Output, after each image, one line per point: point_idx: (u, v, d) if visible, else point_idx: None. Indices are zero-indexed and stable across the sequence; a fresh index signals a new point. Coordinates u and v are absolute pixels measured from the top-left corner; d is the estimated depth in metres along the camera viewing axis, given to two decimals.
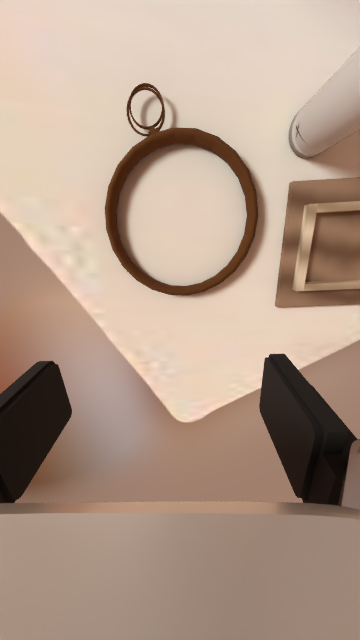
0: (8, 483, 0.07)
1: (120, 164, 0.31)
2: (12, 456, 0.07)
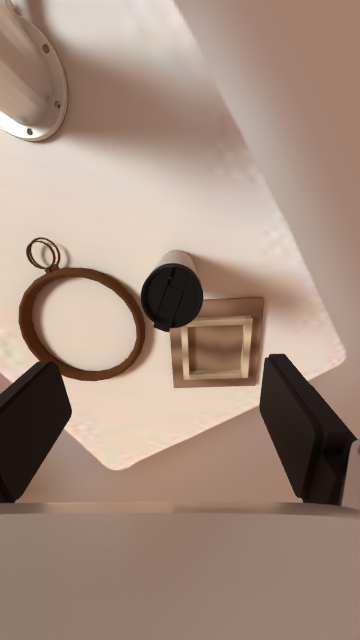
0: (8, 483, 0.07)
1: (25, 293, 0.39)
2: (12, 456, 0.07)
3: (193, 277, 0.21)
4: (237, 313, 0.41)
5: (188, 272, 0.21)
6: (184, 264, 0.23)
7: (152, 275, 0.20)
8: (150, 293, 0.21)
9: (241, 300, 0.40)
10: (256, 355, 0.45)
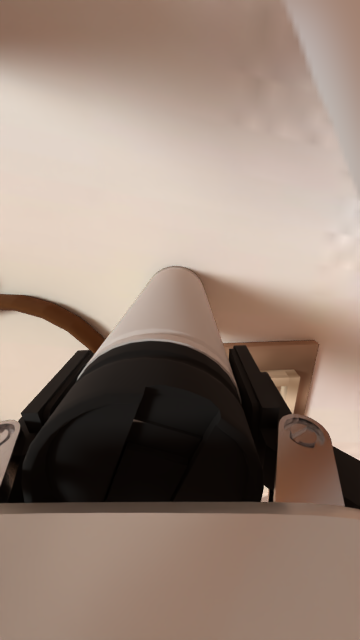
0: None
1: None
2: None
3: (229, 428, 0.05)
4: (273, 366, 0.25)
5: (208, 404, 0.05)
6: (190, 341, 0.07)
7: (58, 423, 0.05)
8: (62, 469, 0.06)
9: (281, 347, 0.24)
10: None
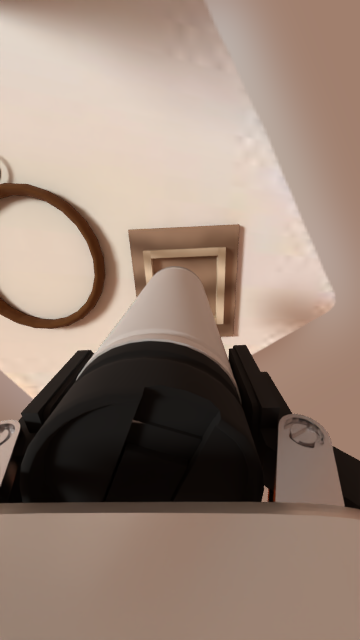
0: None
1: None
2: None
3: (229, 429, 0.05)
4: (209, 244, 0.36)
5: (208, 405, 0.05)
6: (190, 341, 0.07)
7: (56, 424, 0.05)
8: (60, 471, 0.06)
9: (213, 227, 0.35)
10: (233, 298, 0.39)
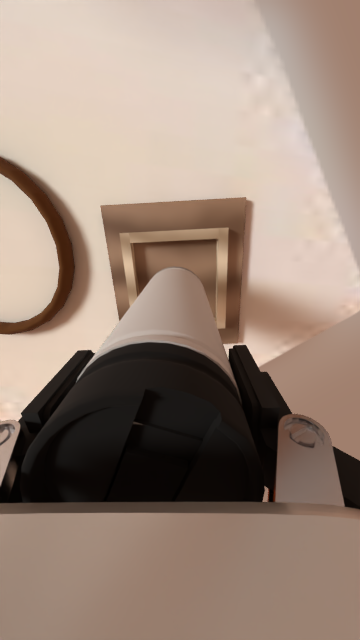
0: None
1: None
2: None
3: (230, 431, 0.05)
4: (206, 224, 0.27)
5: (209, 407, 0.05)
6: (191, 342, 0.07)
7: (57, 426, 0.05)
8: (61, 472, 0.06)
9: (211, 201, 0.26)
10: (238, 295, 0.31)
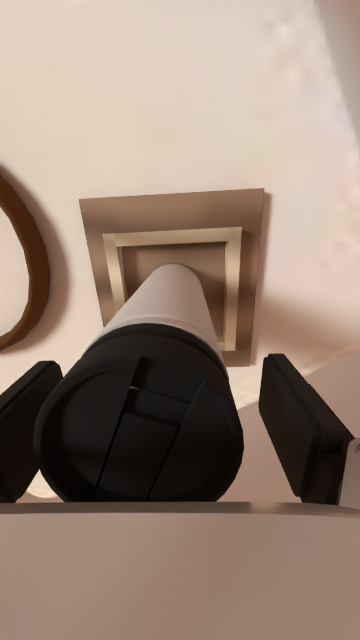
0: (10, 482, 0.07)
1: None
2: (14, 455, 0.07)
3: (212, 392, 0.06)
4: (213, 222, 0.22)
5: (195, 372, 0.06)
6: (182, 324, 0.08)
7: (66, 387, 0.06)
8: (68, 431, 0.06)
9: (219, 193, 0.21)
10: (251, 310, 0.25)
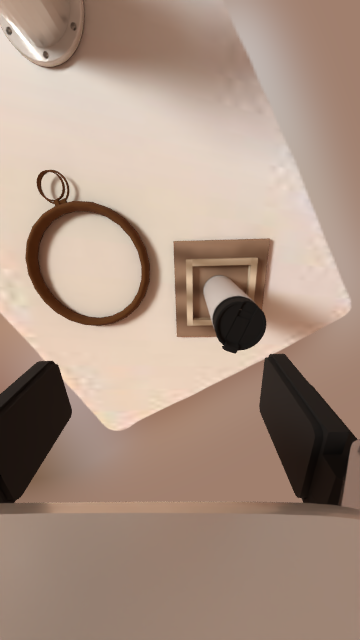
0: (8, 483, 0.07)
1: (33, 226, 0.39)
2: (12, 456, 0.07)
3: (259, 310, 0.25)
4: (242, 254, 0.41)
5: (255, 305, 0.25)
6: (247, 297, 0.27)
7: (226, 307, 0.25)
8: (222, 321, 0.26)
9: (247, 240, 0.40)
10: (261, 302, 0.44)
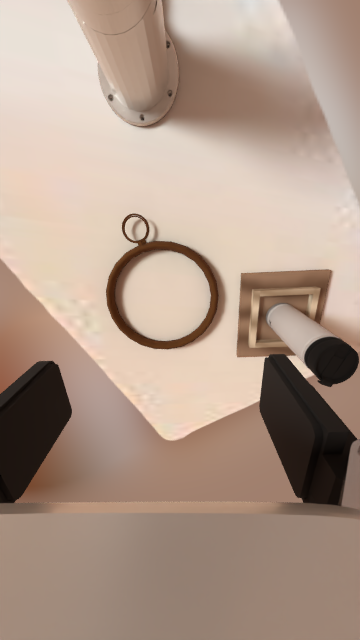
0: (8, 483, 0.07)
1: (117, 265, 0.43)
2: (12, 456, 0.07)
3: (354, 351, 0.29)
4: (304, 284, 0.45)
5: (350, 347, 0.30)
6: (336, 336, 0.32)
7: (326, 349, 0.29)
8: (320, 360, 0.30)
9: (309, 272, 0.44)
10: None
